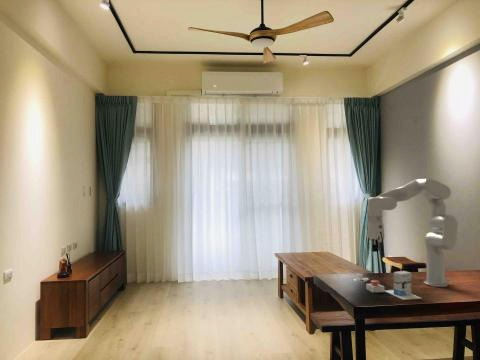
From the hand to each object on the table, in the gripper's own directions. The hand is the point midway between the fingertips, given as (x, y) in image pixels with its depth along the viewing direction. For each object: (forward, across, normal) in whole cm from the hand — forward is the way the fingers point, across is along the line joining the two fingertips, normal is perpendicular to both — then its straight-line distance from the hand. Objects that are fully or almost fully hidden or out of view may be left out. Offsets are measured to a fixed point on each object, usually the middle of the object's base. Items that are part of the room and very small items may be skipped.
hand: (375, 251), depth 201 cm
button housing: (+22, 0, 0) cm, 22 cm away
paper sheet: (+22, -10, -10) cm, 26 cm away
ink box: (+22, -10, -10) cm, 26 cm away
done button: (+22, 0, 0) cm, 22 cm away
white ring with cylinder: (+23, +19, -4) cm, 30 cm away
